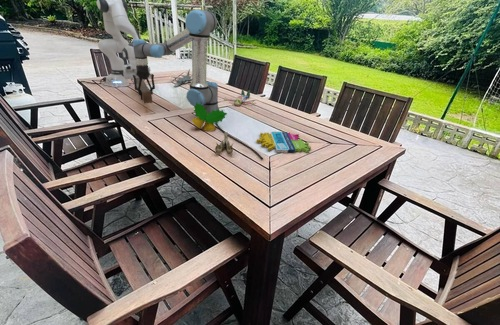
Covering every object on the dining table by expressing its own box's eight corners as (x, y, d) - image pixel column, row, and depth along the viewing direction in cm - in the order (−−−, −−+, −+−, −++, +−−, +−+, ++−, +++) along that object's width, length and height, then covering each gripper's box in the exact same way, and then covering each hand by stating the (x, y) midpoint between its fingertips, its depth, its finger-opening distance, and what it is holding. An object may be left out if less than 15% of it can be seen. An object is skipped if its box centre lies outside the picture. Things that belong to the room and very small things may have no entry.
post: (152, 103, 180) (151, 91, 176) (143, 103, 178) (142, 92, 174) (141, 85, 221) (140, 75, 217) (134, 85, 218) (132, 76, 215)
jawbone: (234, 135, 144) (233, 125, 135) (233, 160, 138) (232, 151, 129) (217, 135, 144) (216, 125, 135) (216, 160, 138) (214, 150, 129)
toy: (261, 91, 228) (254, 99, 202) (261, 99, 231) (253, 108, 205) (231, 87, 233) (220, 95, 207) (230, 95, 236) (219, 104, 210)
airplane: (164, 79, 274) (163, 69, 268) (194, 77, 287) (193, 68, 282) (173, 89, 245) (172, 78, 240) (205, 86, 258) (205, 76, 253)
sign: (313, 150, 142) (258, 149, 139) (312, 153, 143) (258, 152, 140) (301, 132, 164) (254, 130, 161) (301, 134, 165) (254, 133, 162)
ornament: (218, 133, 171) (224, 110, 169) (221, 134, 163) (227, 111, 161) (186, 125, 162) (192, 101, 160) (189, 126, 155) (195, 101, 153)
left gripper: (149, 65, 212) (151, 82, 219) (121, 65, 204) (124, 83, 210) (150, 66, 208) (152, 84, 215) (122, 67, 199) (125, 85, 206)
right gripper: (155, 63, 180) (159, 97, 191) (126, 64, 172) (131, 98, 183) (157, 65, 174) (161, 99, 186) (127, 66, 166) (132, 101, 177)
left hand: (138, 84), depth 212 cm, fingers closed on post, 5 cm apart
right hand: (146, 99), depth 184 cm, fingers closed on post, 6 cm apart
